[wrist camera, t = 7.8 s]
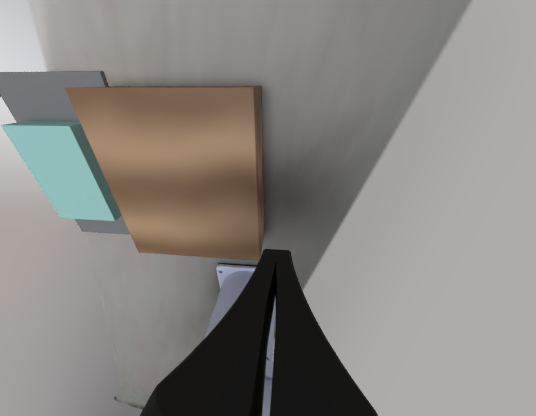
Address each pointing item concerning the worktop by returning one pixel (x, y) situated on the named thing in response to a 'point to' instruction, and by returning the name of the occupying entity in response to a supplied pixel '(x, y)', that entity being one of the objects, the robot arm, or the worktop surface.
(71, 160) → the teal rectangular block
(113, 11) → the worktop surface
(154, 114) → the brown flat block
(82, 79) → the mat
